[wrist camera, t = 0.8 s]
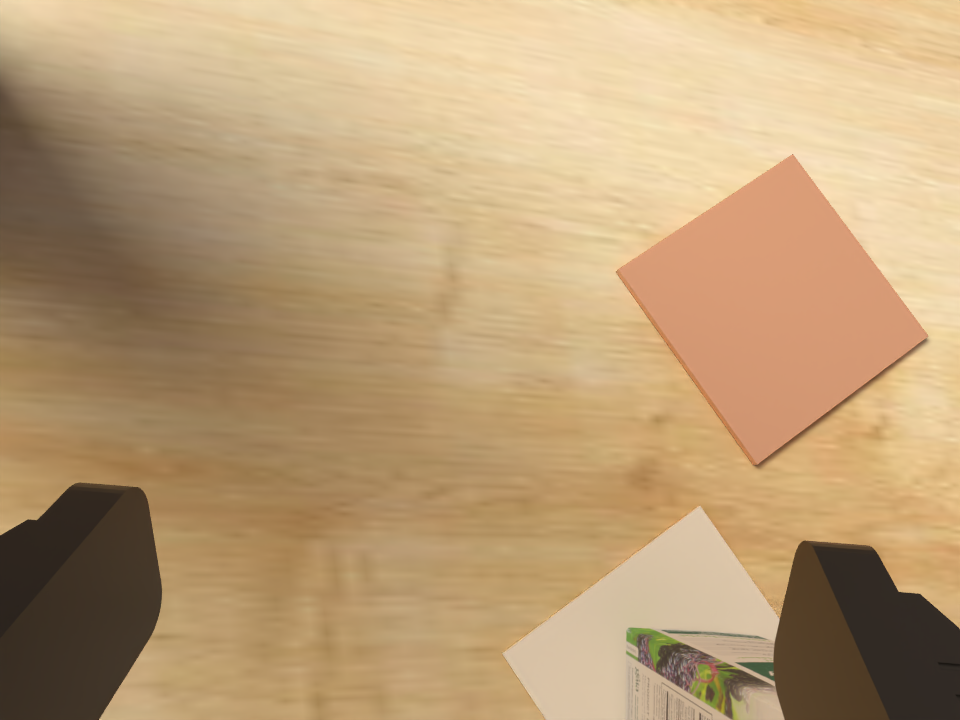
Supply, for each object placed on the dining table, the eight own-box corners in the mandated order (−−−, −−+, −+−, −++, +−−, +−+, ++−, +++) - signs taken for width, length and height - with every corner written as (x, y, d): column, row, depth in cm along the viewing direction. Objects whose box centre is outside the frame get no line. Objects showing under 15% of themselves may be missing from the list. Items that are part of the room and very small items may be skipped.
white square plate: (501, 653, 32) (502, 654, 32) (698, 506, 34) (700, 505, 34) (681, 924, 31) (684, 928, 31) (873, 756, 33) (877, 758, 33)
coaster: (615, 271, 36) (618, 269, 35) (788, 158, 38) (792, 154, 37) (753, 465, 35) (757, 464, 35) (922, 337, 37) (928, 336, 36)
